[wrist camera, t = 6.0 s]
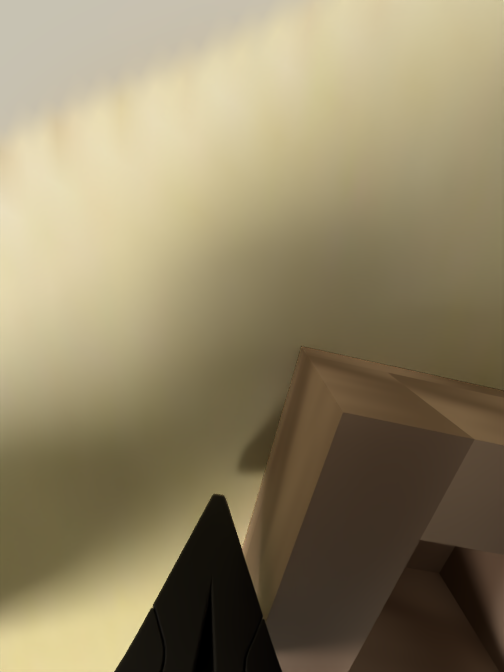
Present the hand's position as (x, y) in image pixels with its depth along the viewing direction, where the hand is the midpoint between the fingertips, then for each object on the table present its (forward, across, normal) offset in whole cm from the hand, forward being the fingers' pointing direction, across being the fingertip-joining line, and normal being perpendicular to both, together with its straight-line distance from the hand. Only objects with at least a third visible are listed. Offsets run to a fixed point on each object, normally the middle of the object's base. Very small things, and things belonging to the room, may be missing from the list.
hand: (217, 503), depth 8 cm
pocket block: (+1, -7, -1) cm, 7 cm away
